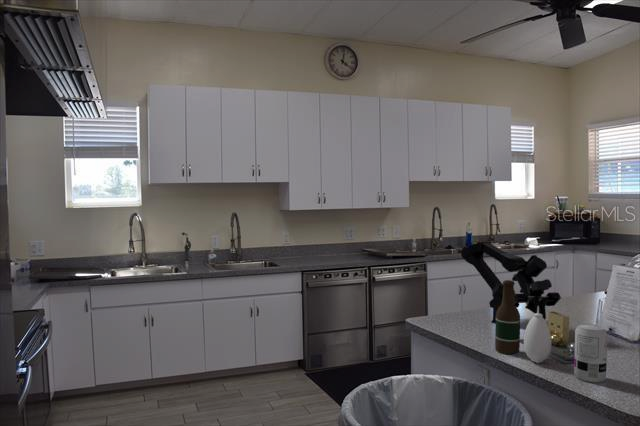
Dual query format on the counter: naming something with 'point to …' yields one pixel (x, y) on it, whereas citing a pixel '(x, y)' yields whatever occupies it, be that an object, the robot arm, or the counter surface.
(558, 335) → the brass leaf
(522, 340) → the rubber mat
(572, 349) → the gunmetal leaf
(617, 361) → the counter surface
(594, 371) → the supplement can
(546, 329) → the sauce bottle
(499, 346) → the beer bottle
